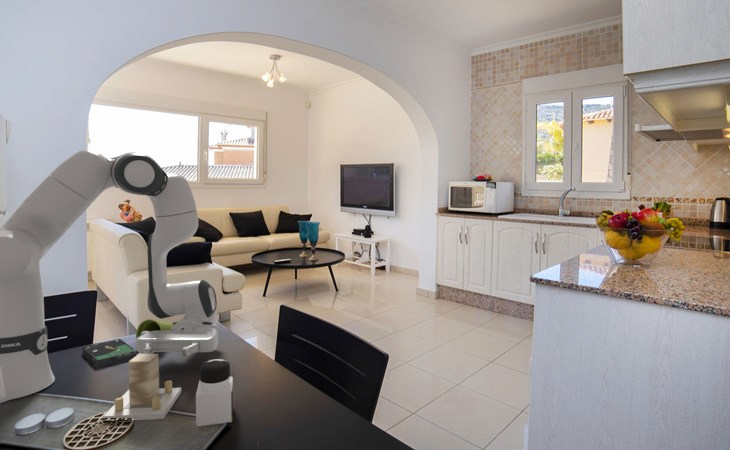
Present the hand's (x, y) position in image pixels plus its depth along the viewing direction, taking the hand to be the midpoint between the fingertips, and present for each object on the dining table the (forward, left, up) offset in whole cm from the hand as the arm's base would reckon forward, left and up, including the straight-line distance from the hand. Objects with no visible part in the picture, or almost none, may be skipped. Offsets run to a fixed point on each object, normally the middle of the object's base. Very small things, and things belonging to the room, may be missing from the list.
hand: (165, 352), depth 103 cm
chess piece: (-12, +18, -8) cm, 24 cm away
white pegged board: (-1, -10, -8) cm, 13 cm away
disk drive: (-23, +21, -9) cm, 32 cm away
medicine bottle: (+16, -16, -8) cm, 24 cm away
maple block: (-1, -10, -7) cm, 13 cm away
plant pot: (-10, +33, -5) cm, 35 cm away
